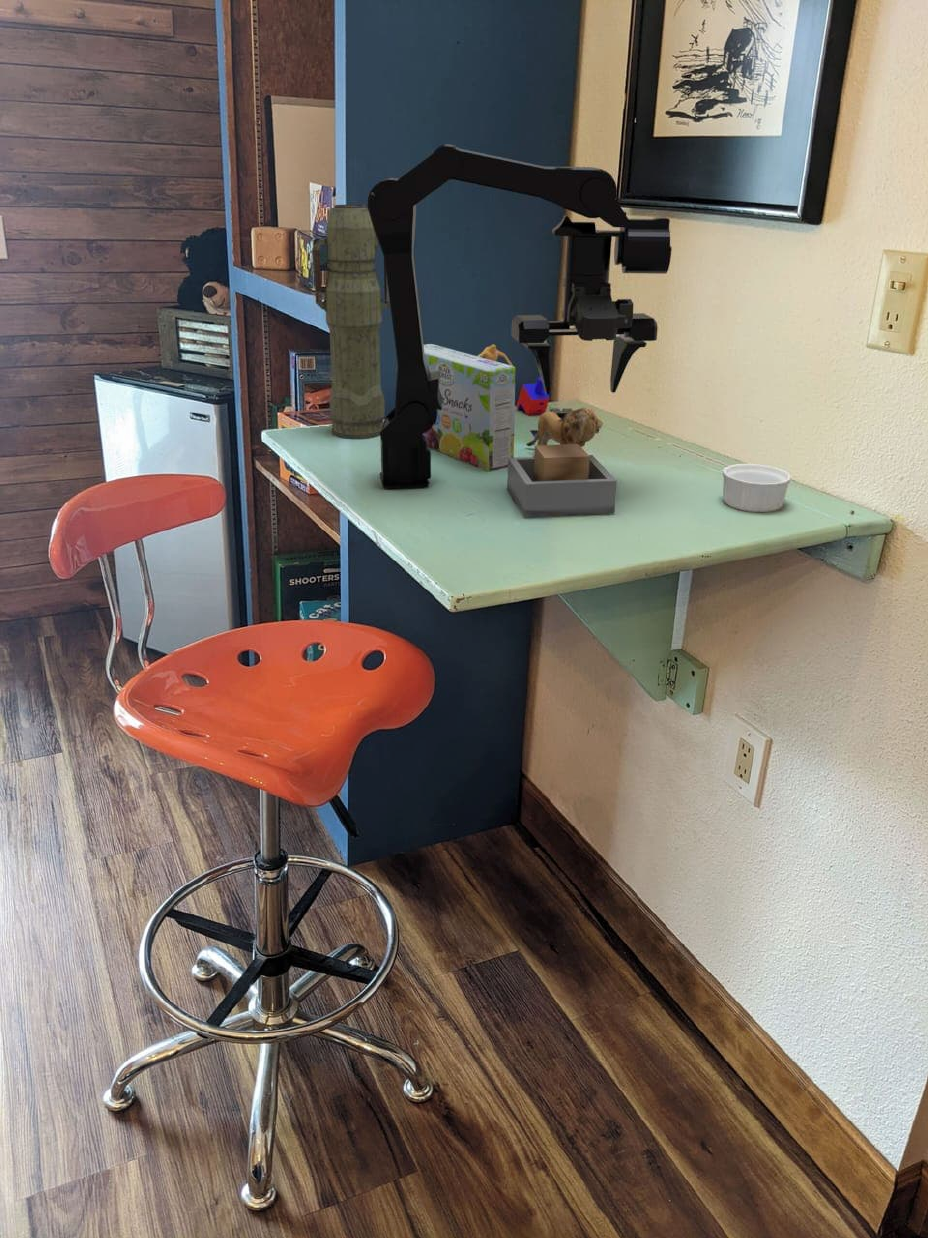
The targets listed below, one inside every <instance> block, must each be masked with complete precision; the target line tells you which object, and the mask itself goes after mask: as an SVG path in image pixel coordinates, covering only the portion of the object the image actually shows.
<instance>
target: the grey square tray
mask: <svg viewBox="0 0 928 1238" xmlns="http://www.w3.org/2000/svg"><path fill="white" fill-rule="evenodd" d="M588 455H589V456H590V459H589V474H588V480H563V481H537V482H533V477H534V456H527V457H526V456H521V457H520V456H519V457H514V458H508V466H507V479H506V482H507V483H506V490H507V492H508V493H509V494H510V496H511V497H512V499H513V501H514V502H515V504H516V505H517V508H518V509H519V510H520V512H521V514H522V516H523V517H524V518H525V519H526V518H527V519H531V518H549V517H570V516H571V517H576V516H591V515H592V516H597V515H614V514H615V512H616V511H615V510H616V498H617V486H618V485H617V484H618V480H617V479H616V478H615V477H614V476H613V475H612V474H611V473H610V471H609V470H607V469H606V467H605V466H604V465H602V463H601V462H599V460H598V459H597V458H596V457H595V456H594V455H593V454H588Z"/></svg>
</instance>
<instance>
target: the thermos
mask: <svg viewBox="0 0 928 1238" xmlns="http://www.w3.org/2000/svg"><path fill="white" fill-rule="evenodd" d="M333 206H334V207H329V210H328V214H327V219H326V222H327V224H326V229H325V236H324V238H320V239H318V240H317V242H315V244H314V245H313V247H312V248H311V249H312V264H313V277H314V287H315V288H314V289H315V290H314V291H315V293H314V294H315V303H316V305H317V306H318V307H319V308H320V309H321V310H323V311H324V312H325V323H326V325H327V327H328V329H329V347H330V348H329V349H330V367H331V369H330V370H331V389H330V394H329V417H330V419H331V433H332V435H333V436H335V437H337V438H341V439H349V440H363V439H364V440H365V439H372V438H377V437H380V431H381V428H382V425H383V422H384V419H385V417H386V415H385V414H386V413H385V411H386V410H385V396H384V393H383V390H382V388H381V386H382V385H381V384H382V383H381V359H380V358H381V355H380V353H381V352H380V350H381V349H380V327H381V325H382V323H383V318H382V317H383V316H382V315H383V314H382V313H383V311H384V309H388V308H391V307H390V299H389V291H388V283H387V276H386V268H385V260H384V259H383V276H384V278H383V283H384V287H383V288H384V300H383V299H382V288H381V285H380V282H379V279H378V276H377V275H378V271H377V269H376V260H377V247H378V246H379V247H380V245H379V242H378V240H377V237H376V234H375V231H374V227H373V224H372V221H371V217H370V214H369V210H368V207H366V204H365V205H364V204H334V205H333ZM323 245H325V246H326V260H328V261H327V262H328V269H327V278H326V283H325V287H324V300H323V293H322V278H321V275H322V274H321V257H320V255H321V254H320V253H321V252H320V250H321V247H322V246H323Z"/></svg>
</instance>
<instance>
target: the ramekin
mask: <svg viewBox="0 0 928 1238" xmlns="http://www.w3.org/2000/svg"><path fill="white" fill-rule="evenodd" d="M722 476H723V484H722V485H723V487H722V491H723V492H722V499H723V501H724V503H725V504H726V505H727V506H729V507H731V508H734V509H737V510H740V511H745V512H753V513H769V512H774V511H778V510H779V509H781V508H782V507H783V506H784V501H785V499H786V494H787V490H788V488H789V487H788V486H789V484H790V482H791V480H792V476H791V474H790V473H789V472H787V471H785V470H784V469H781V468H779V467H775V466H771V465H770V466H769V465H766V464H765V465H764V464H758V463H736V464H732V465H727V466H725V467H724V468H723V469H722Z"/></svg>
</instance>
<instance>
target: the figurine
mask: <svg viewBox="0 0 928 1238" xmlns="http://www.w3.org/2000/svg"><path fill="white" fill-rule="evenodd" d="M477 356H478V357H481V358H484V357H485V359H489V360H492V361H496V362H497V360H498V358H499V357H502V358H503V357H504V359H505V361H506V362H507V364H508V365H511V366H513V363H512V361H511V360H509V358H508V356H507V355H506V353H504V352H502V351H499V350H498V349H497V346H496V345H495V344H494V343H493V344H491V345H490V346H487V347H485V348H484V349H483V351H482V352H481V353H480V354H478V355H477Z"/></svg>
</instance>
